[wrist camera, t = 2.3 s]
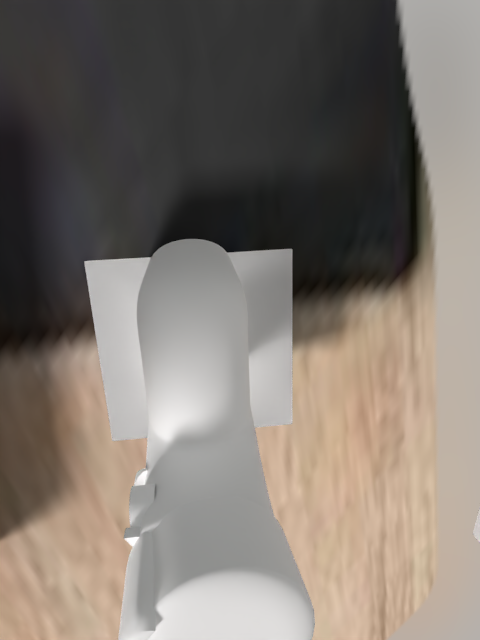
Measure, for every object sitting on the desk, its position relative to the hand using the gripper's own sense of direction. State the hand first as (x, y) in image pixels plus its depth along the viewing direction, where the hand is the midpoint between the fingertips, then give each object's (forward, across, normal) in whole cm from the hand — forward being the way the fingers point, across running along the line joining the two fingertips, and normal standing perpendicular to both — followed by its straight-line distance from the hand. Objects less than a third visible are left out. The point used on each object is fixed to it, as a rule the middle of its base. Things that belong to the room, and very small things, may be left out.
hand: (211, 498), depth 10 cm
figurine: (+12, 0, 0) cm, 12 cm away
